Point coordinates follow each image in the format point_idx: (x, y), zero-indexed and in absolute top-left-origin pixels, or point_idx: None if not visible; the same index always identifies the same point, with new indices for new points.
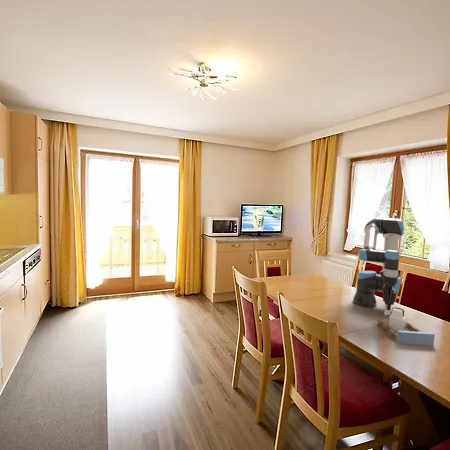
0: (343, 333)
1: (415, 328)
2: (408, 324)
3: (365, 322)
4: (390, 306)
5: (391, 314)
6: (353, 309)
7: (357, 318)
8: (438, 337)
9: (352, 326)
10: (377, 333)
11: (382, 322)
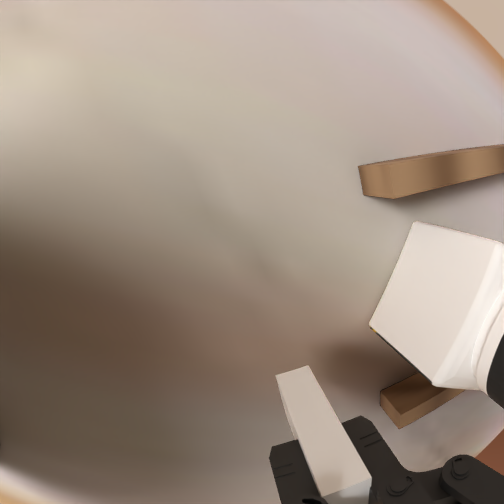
0: None
1: (495, 167)
2: (434, 187)
3: None
4: (394, 457)
5: (456, 385)
6: (111, 497)
7: None
8: (448, 28)
9: None
10: None
11: (434, 400)
